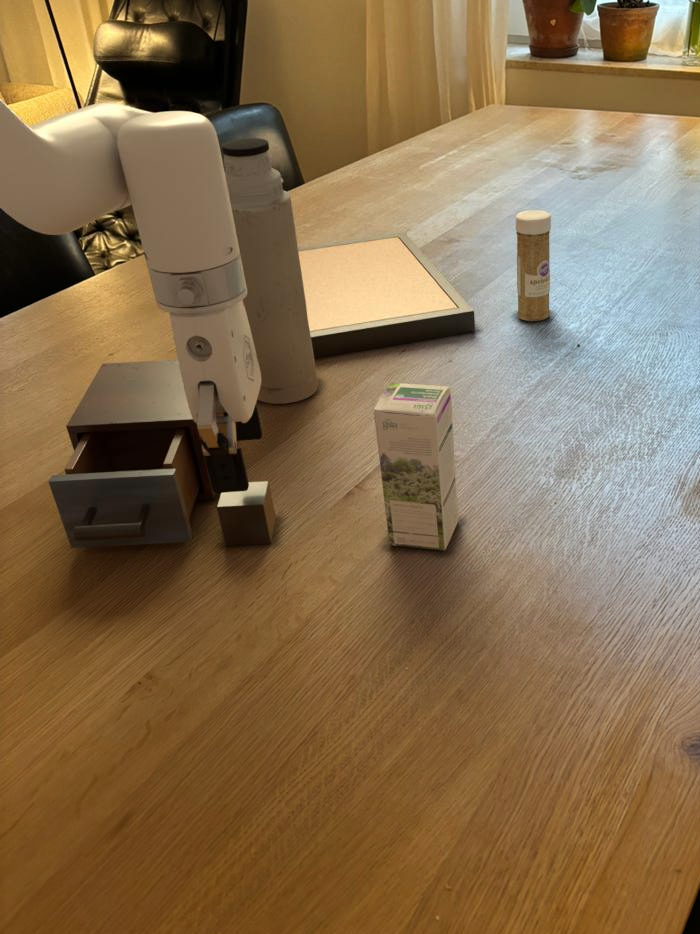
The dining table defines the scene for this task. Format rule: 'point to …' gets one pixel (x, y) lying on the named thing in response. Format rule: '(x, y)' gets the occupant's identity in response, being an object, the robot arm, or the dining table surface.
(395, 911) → the dining table surface
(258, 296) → the thermos bottle
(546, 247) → the sprinkles bottle
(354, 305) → the cork board
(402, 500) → the syrup box
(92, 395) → the cabinet
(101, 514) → the drawer
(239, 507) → the block
